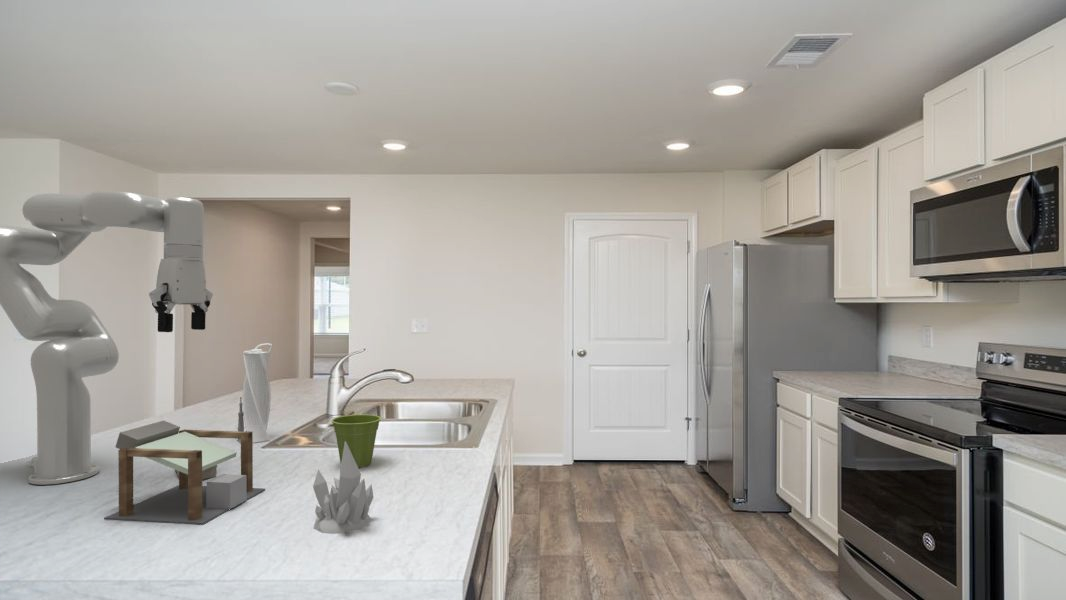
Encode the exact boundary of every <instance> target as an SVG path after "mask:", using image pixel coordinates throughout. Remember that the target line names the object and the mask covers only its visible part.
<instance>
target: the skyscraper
mask: <svg viewBox="0 0 1066 600" xmlns="http://www.w3.org/2000/svg"><path fill="white" fill-rule="evenodd" d="M262 346H269V349H268V351H263V349H261V348H260V347H262ZM272 348H273V344H272V343H269V342H268V343H266V342H265V343H260V344H257V346H255V347H254V349H253V348H252V349H249V350H244V351H243V352H242V359H243V363H244V364H243V366H244V370H245V375H244V379H243V387H242V396H241V397H240V399H239V401H240V403H239V404H238V405H239V410H238V413H237V415H238V416H237V417H238V419H237V431H241V432H245V431H248V432H252V434H253V444H258V443H265V442H270V439H269V436H268V434H267V433H268V432H267V430H268V429H267V428H268V424H269V418H270V413H271V398H272V397H271V396H272V395H271V384H270V379H269V375H268V365H269V362H270V355H271V351H272ZM236 441H237V443H239V444H241V439H236Z"/></svg>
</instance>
